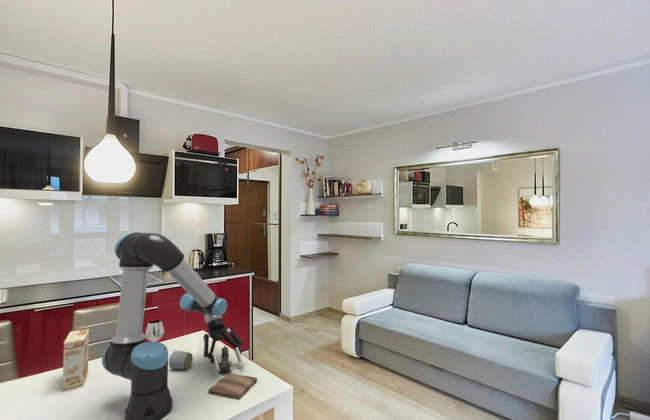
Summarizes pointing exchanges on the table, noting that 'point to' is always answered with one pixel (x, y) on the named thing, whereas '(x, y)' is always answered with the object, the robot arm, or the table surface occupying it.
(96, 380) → the table surface
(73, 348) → the coffeecake box
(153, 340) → the wineglass
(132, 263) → the robot arm
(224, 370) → the weathered metal finial
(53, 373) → the table surface
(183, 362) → the ceramic mug
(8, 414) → the table surface
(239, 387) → the walnut board
